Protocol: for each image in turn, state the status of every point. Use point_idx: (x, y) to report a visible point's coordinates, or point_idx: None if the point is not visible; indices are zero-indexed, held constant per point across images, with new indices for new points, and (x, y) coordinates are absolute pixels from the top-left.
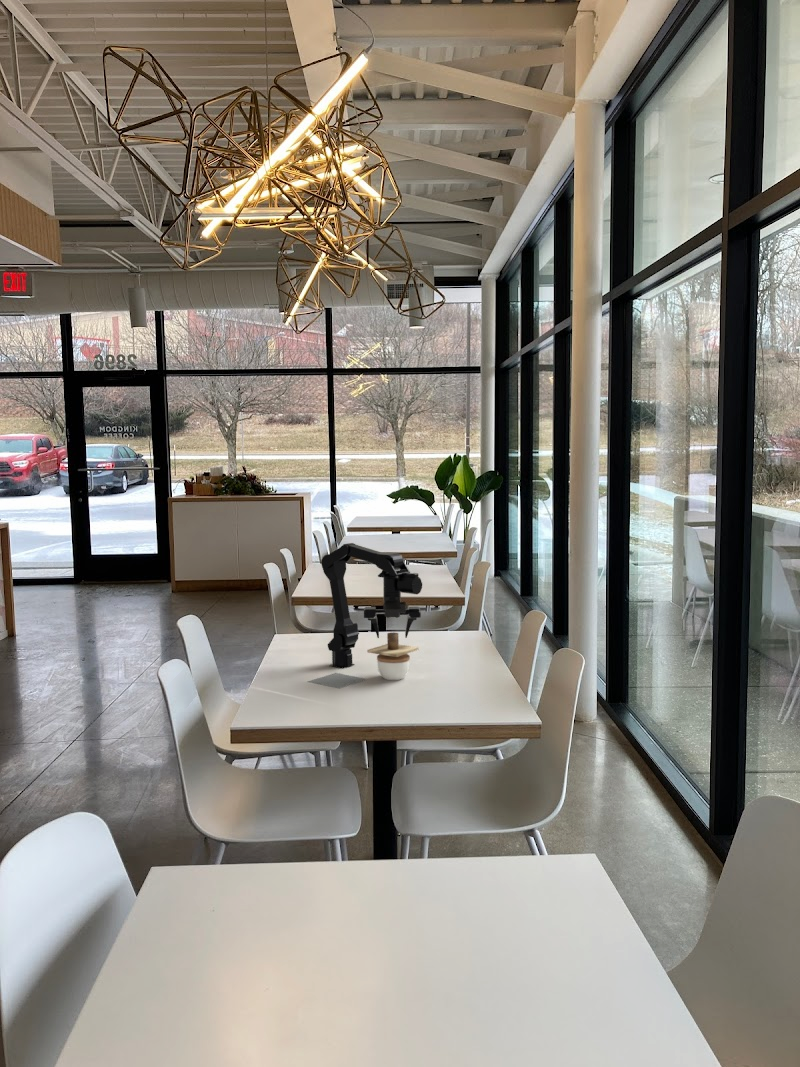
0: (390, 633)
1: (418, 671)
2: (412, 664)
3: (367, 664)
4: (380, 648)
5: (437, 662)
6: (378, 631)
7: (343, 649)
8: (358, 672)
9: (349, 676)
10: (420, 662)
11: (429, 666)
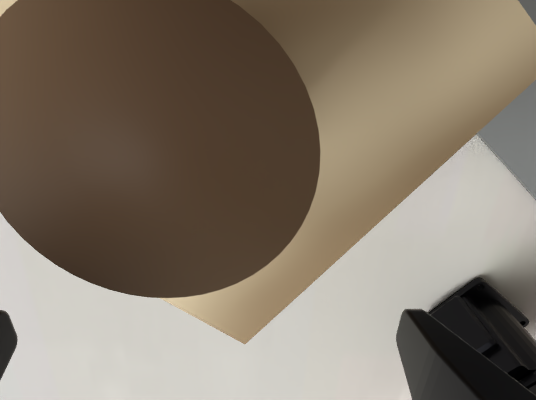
0: (225, 192)
1: None
2: (138, 339)
3: (346, 346)
4: (371, 123)
5: (23, 362)
6: (471, 390)
7: (534, 377)
8: (414, 224)
9: (496, 120)
10: (104, 364)
11: (47, 306)
